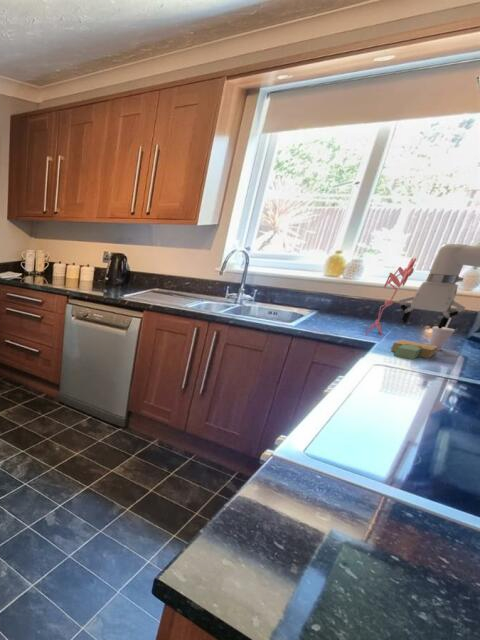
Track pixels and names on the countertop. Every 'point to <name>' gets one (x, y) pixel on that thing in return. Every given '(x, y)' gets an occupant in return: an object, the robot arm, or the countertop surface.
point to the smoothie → (440, 335)
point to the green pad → (407, 351)
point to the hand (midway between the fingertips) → (422, 325)
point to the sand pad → (425, 348)
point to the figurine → (404, 274)
